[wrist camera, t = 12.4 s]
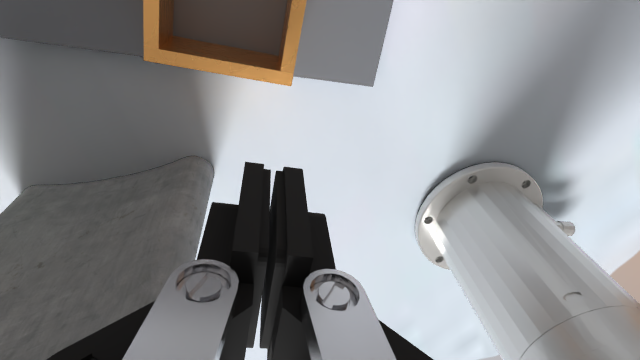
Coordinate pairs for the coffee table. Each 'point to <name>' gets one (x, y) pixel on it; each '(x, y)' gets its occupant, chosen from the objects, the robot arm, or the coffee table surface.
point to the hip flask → (94, 252)
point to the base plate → (216, 29)
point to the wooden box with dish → (221, 47)
